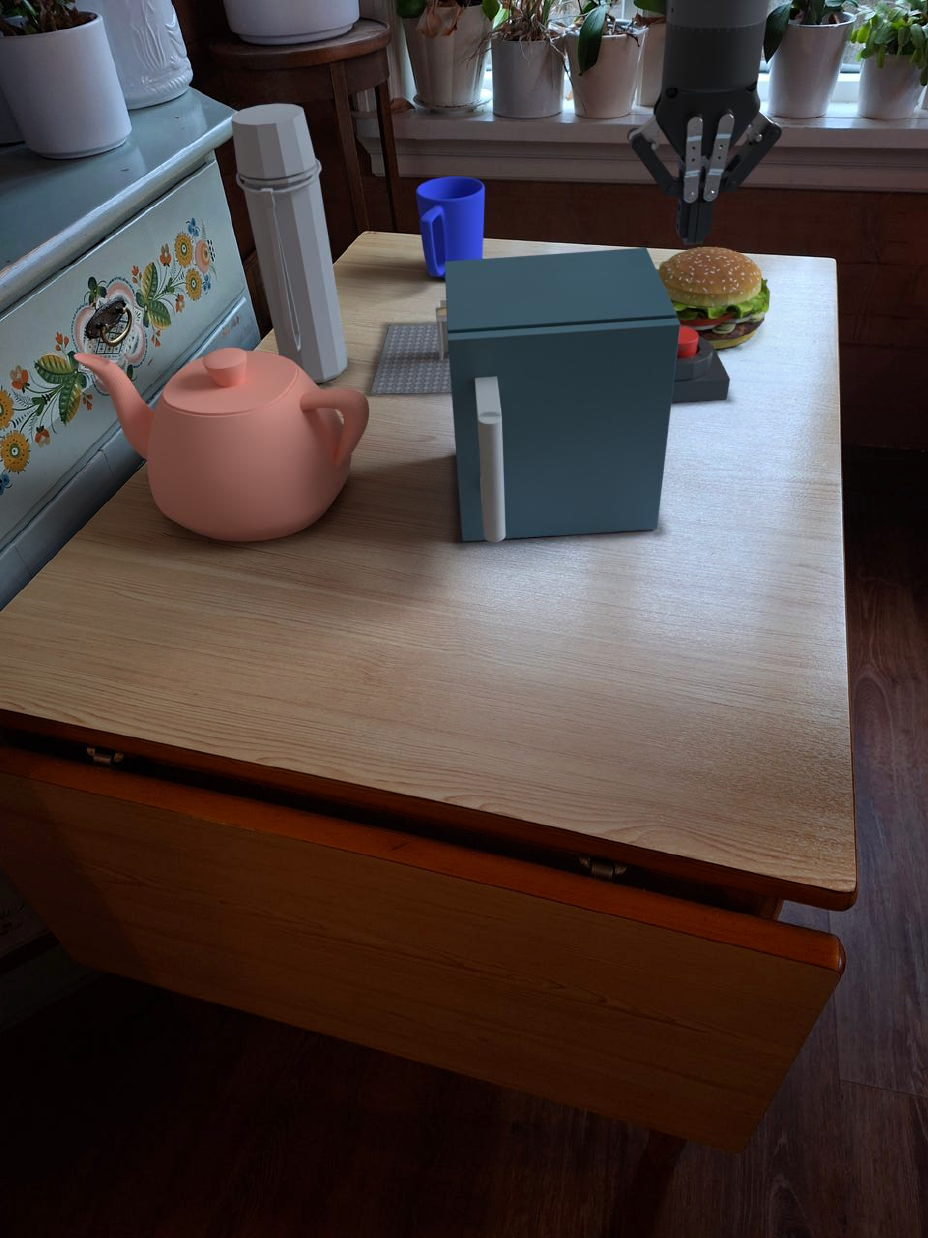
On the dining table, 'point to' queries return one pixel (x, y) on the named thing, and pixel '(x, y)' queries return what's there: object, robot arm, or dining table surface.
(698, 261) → the food
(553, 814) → the dining table surface
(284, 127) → the water bottle
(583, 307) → the cupboard
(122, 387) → the teapot
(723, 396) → the button box
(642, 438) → the cupboard door
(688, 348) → the red push button
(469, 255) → the mug
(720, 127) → the robot arm
